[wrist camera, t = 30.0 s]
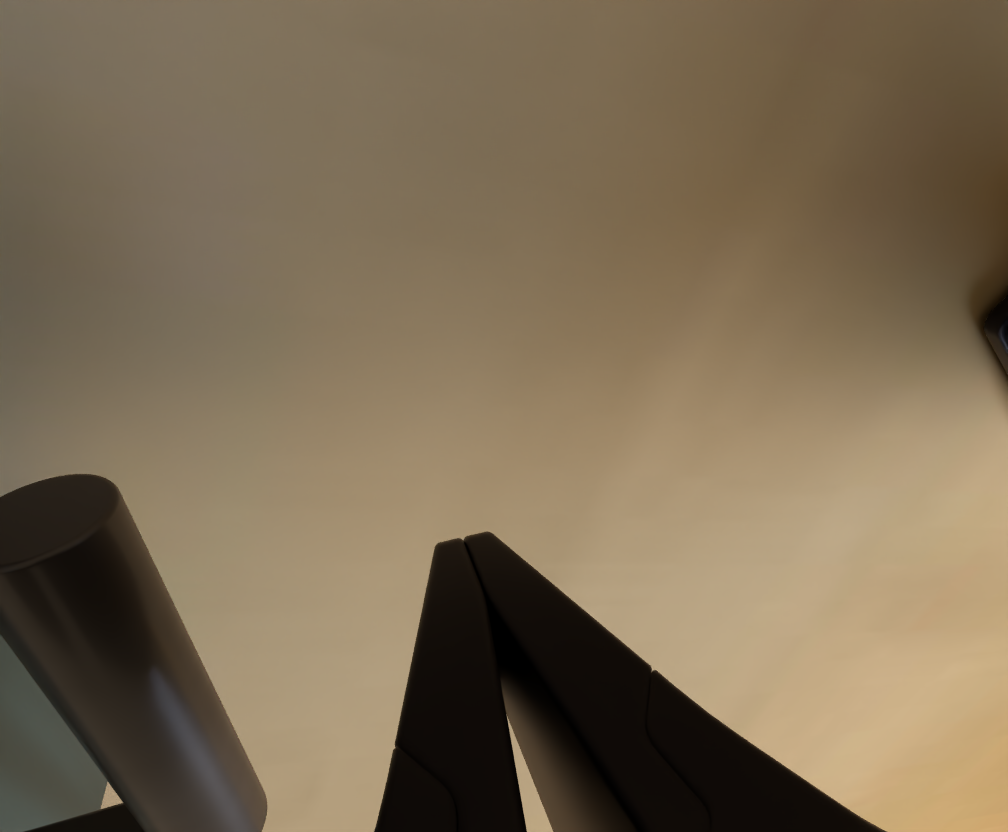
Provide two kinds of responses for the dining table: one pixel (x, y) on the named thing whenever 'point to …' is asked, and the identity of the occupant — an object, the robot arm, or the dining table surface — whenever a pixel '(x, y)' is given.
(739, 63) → the dining table surface
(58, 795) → the drawer
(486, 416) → the dining table surface
